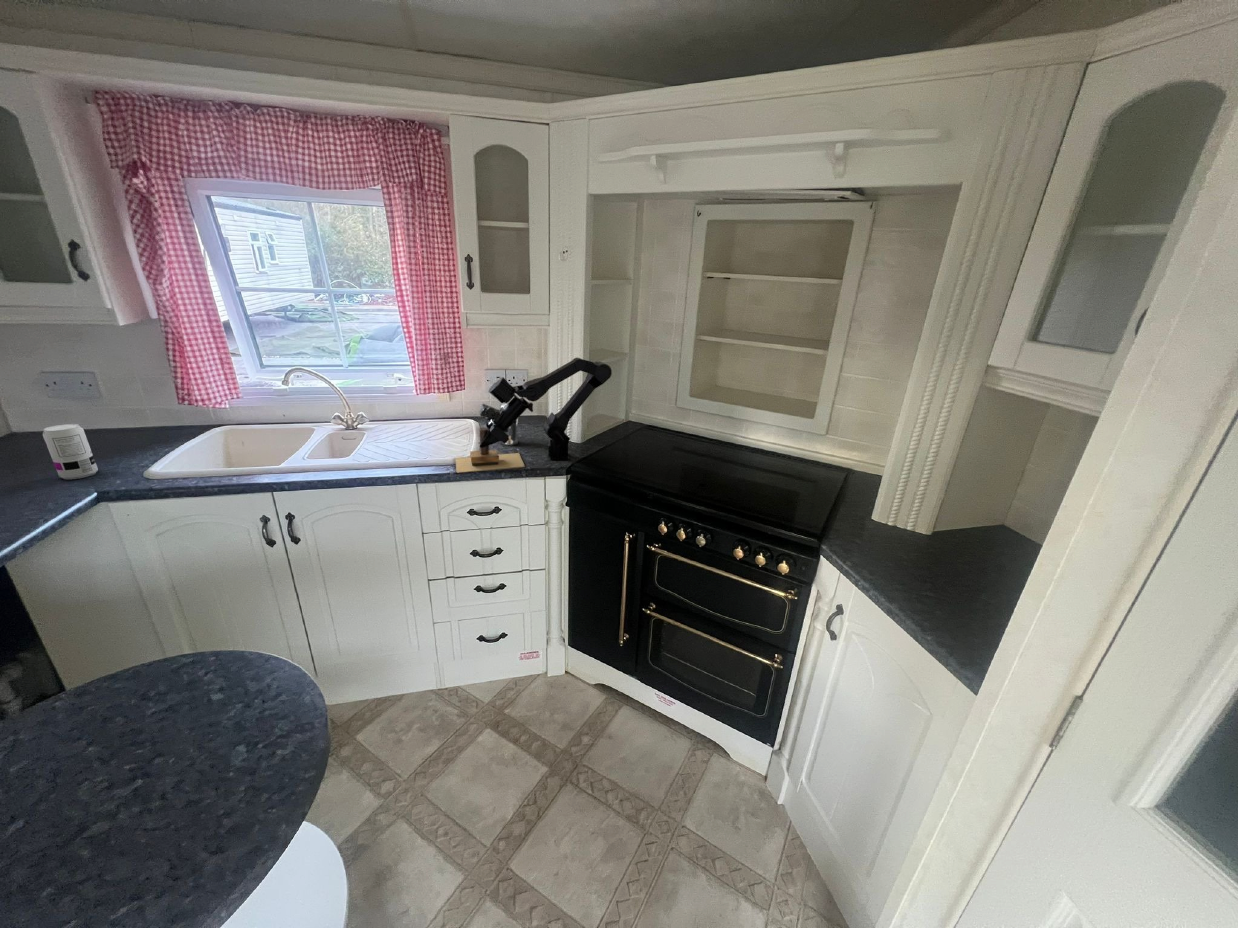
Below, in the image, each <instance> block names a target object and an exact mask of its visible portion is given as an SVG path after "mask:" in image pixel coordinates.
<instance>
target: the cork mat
mask: <svg viewBox="0 0 1238 928" xmlns="http://www.w3.org/2000/svg"><path fill="white" fill-rule="evenodd" d="M498 454H499V453H498ZM454 460H455V468H456V473H457V474H463V473H473V472H474V473H475V472H485V471H496V470H497V471H498V470H508V469H520V468H521V469H522V468H526V465H525V464H524V461H523V459H522V457H521V455H520V453H519V452H515V453H500V454H499V462H498V463H499V464H494V465H478V466H472V463H471V458H470V456H463V457H461V456H460V457H455V459H454Z"/></svg>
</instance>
